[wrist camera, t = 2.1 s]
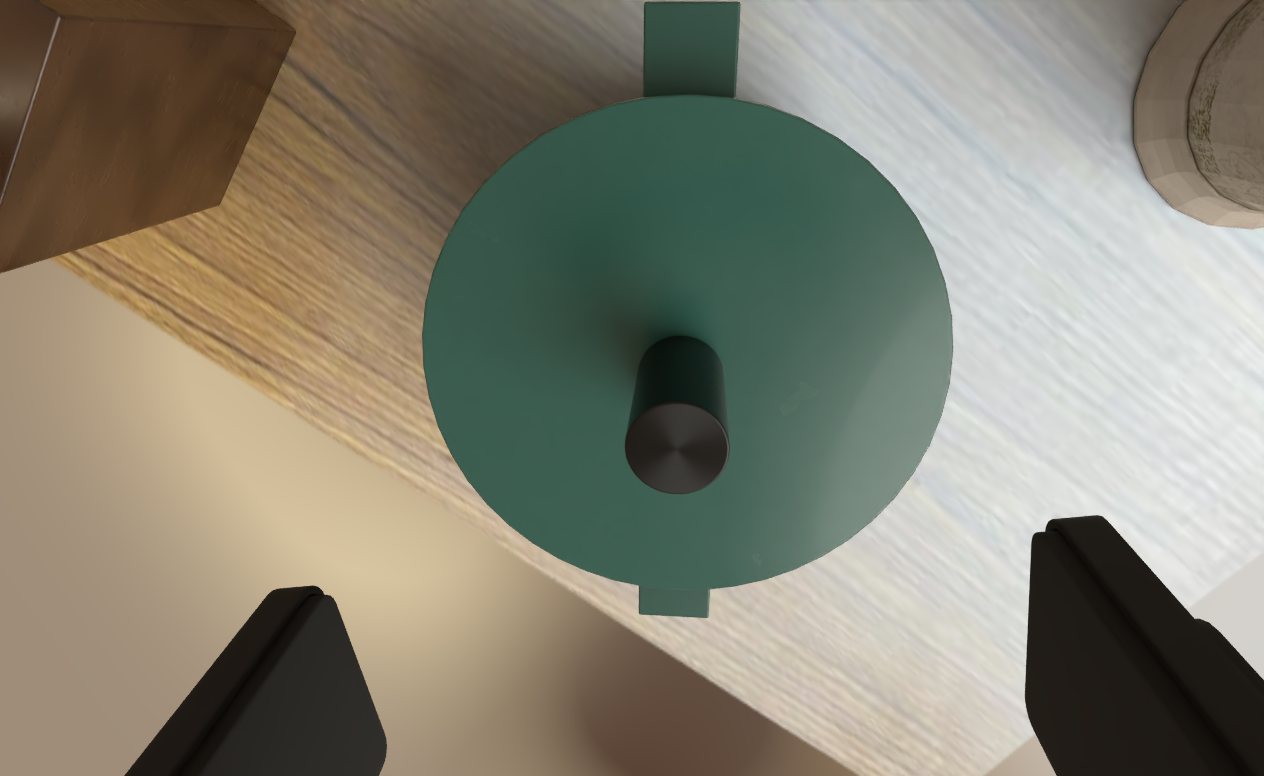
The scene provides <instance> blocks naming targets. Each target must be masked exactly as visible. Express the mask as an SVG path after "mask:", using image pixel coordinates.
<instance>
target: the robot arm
mask: <svg viewBox="0 0 1264 776" xmlns="http://www.w3.org/2000/svg"><path fill="white" fill-rule="evenodd" d="M1025 702H1026V709H1027V713H1028V717H1029V720H1030V723H1031V725H1032V727H1033V730H1034V732H1035V734H1036V736H1037V738H1038V739H1039V742H1040V744H1041V746H1042V747H1043V749H1044V751H1045V753H1046V756H1047V758H1048V760H1049V761H1050V763H1051V765H1052V767H1053V769H1054V771H1055V773H1056V775H1057V776H1264V680H1263V679H1262V678H1261V677H1260V676H1259V675H1258V673H1257V672H1256V671H1255V670H1254V669H1253V668H1252V667H1251V666H1250V665H1249V664H1248V662H1247V661H1246V660H1245V659H1244V658H1243V657H1242V656H1241V655H1240V654H1239V652H1238V651H1237V650H1236V649H1235V648H1234V647H1233V646H1232V645H1231V644H1230V643H1229V641H1228V640H1227V639H1226V638H1225V637H1224V636H1223V635H1222V634H1221V633H1220V632H1219V631H1218V630H1217V629H1216V628H1215V627H1213V626H1212V625H1211V624H1210V623H1209V622H1206V621H1204V620H1201V619H1194V618H1193V617H1192V616H1191V614H1190V613H1189V612H1188V611H1187V610H1186V609H1185V608H1184V606H1183V605H1182V604H1181V603H1180V602H1179V601H1178V600H1177V599H1176V597H1175V596H1174V595H1173V594H1172V593H1171V592H1170V591H1169V590H1168V588H1167V587H1166V586H1165V585H1164V584H1163V583H1162V582H1161V581H1160V579H1159V578H1158V577H1157V576H1156V575H1155V574H1154V573H1153V572H1152V570H1151V569H1150V568H1149V567H1148V566H1147V565H1146V564H1145V562H1144V561H1143V560H1142V559H1141V558H1140V557H1139V556H1138V555H1137V553H1136V552H1135V551H1134V550H1133V549H1132V548H1131V547H1130V546H1129V544H1128V543H1127V542H1126V541H1125V540H1124V539H1123V538H1122V537H1121V535H1120V534H1119V533H1118V532H1117V531H1116V530H1115V529H1114V528H1113V526H1112V525H1111V524H1110V523H1109V522H1108V521H1107V520H1106V519H1105V518H1104V517H1102V516H1098V515H1095V516H1083V517H1072V518H1061V519H1052V520H1050V521H1048V524H1047V526H1046V530H1045V532H1037V533H1035V534H1034V535H1033V537H1032V544H1031V566H1030V590H1029V613H1028V636H1027V659H1026V682H1025ZM386 750H387V744H386V737H385V733H384V730H383V728H382V725H381V722H380V720H379V717H378V714H377V712H376V709H375V706H374V704H373V701H372V698H371V695H370V693H369V690H368V687H367V685H366V682H365V680H364V677H363V674H362V671H361V669H360V666H359V663H358V660H357V658H356V655H355V653H354V650H353V647H352V645H351V642H350V639H349V636H348V634H347V631H346V628H345V626H344V623H343V620H342V618H341V615H340V612H339V610H338V607H337V604H336V602H335V600H334V598H332V597H331V596H329V595H324V593H323V591H322V590H321V589H320V588H319V587H316V586H303V587H292V588H280V589H276V590H273V591H272V592H270V593H269V594H268V595H267V596H266V598H265V599H264V600H263V601H262V603H261V604H260V605H259V607H258V608H257V609H256V610H255V612H254V613H253V614H252V615H251V617H250V618H249V619H248V620H247V622H246V623H245V624H244V626H243V627H242V628H241V629H240V630H239V632H238V633H237V634H236V635H235V637H234V638H233V639H232V641H231V642H230V643H229V644H228V646H227V647H226V648H225V649H224V651H223V652H222V653H221V654H220V656H219V657H218V658H217V659H216V661H215V662H214V663H213V665H212V666H211V667H210V668H209V670H208V671H207V672H206V673H205V675H204V676H203V677H202V678H201V680H200V681H199V682H198V684H197V685H196V686H195V687H194V688H193V690H192V691H191V692H190V694H189V695H188V696H187V697H186V699H185V700H184V701H183V702H182V704H181V705H180V706H179V708H178V709H177V710H176V711H175V713H174V714H173V715H172V716H171V717H170V719H169V720H168V721H167V723H166V724H165V725H164V726H163V728H162V729H161V730H160V731H159V733H158V734H157V735H156V736H155V738H154V739H153V740H152V742H151V743H150V744H149V745H148V747H147V748H146V749H145V750H144V752H143V753H142V754H141V755H140V757H139V758H138V759H137V760H136V762H135V763H134V764H133V765H132V767H131V768H130V770H128V772H127V773H126V774H125V776H379V774H380V772H381V769H382V767H383V764H384V762H385V758H386Z"/></svg>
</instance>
